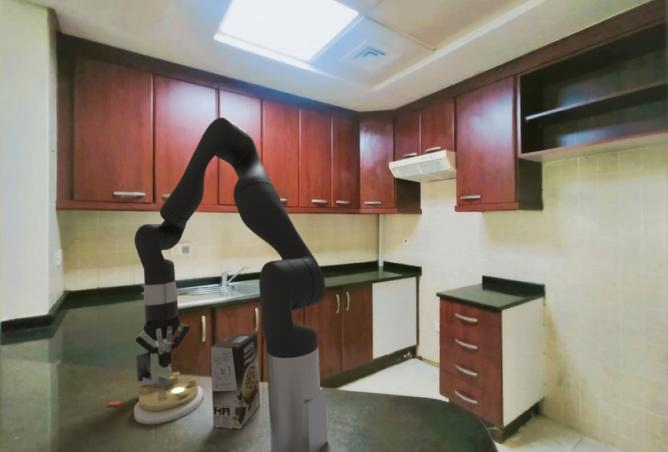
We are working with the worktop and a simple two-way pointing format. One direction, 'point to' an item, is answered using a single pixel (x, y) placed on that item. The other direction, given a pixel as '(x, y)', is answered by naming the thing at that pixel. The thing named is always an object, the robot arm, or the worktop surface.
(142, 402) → the gold oval piece
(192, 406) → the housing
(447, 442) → the worktop surface
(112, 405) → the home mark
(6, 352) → the worktop surface
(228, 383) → the coffee box
